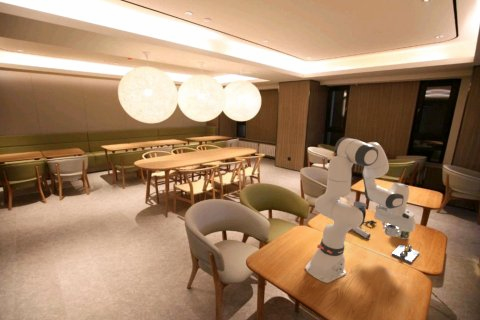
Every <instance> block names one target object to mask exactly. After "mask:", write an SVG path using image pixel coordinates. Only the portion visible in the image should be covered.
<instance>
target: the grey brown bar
mask: <svg viewBox="0 0 480 320" xmlns="http://www.w3.org/2000/svg"><path fill="white" fill-rule="evenodd" d="M351 230H352V231H354V232H356V234H359V235H361V237H363V238H364V239H366V240H368V239H370V238H371V233H369V232H367V231H366V230H364V229H362V228H361V227H360V226H358V227H357V228H353V229H351Z"/></svg>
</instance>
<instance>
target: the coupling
mask: <svg viewBox="0 0 480 320" xmlns="http://www.w3.org/2000/svg"><path fill="white" fill-rule="evenodd" d="M385 225H386V228H385V229H384V233H385V235H387V236H389V237H394V238H395V237H396V236H397V234H396V233H397V231H398V229H399V228H398V227H396V226H393V225H390V224H388V223H386V224H385ZM396 238H397V237H396Z"/></svg>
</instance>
